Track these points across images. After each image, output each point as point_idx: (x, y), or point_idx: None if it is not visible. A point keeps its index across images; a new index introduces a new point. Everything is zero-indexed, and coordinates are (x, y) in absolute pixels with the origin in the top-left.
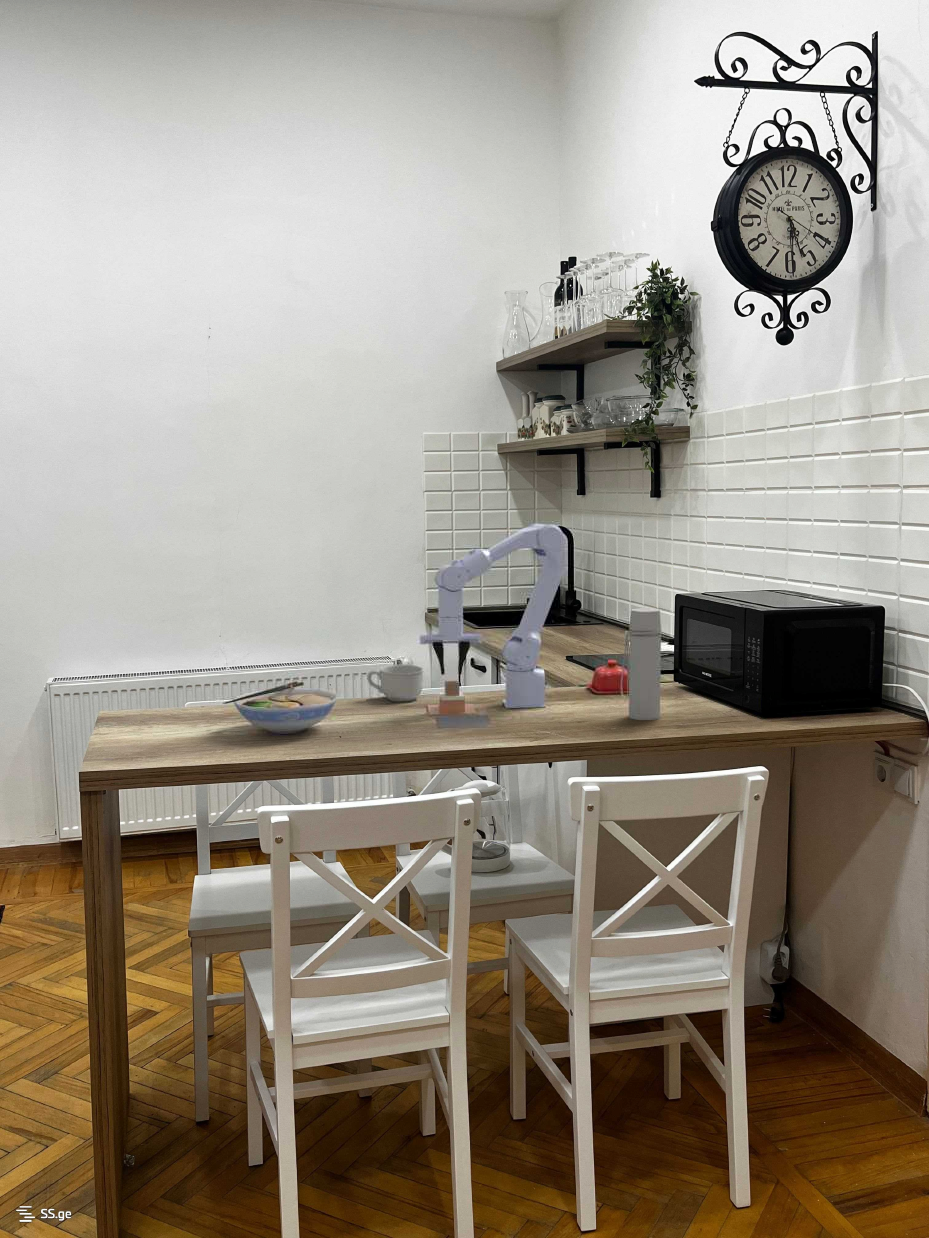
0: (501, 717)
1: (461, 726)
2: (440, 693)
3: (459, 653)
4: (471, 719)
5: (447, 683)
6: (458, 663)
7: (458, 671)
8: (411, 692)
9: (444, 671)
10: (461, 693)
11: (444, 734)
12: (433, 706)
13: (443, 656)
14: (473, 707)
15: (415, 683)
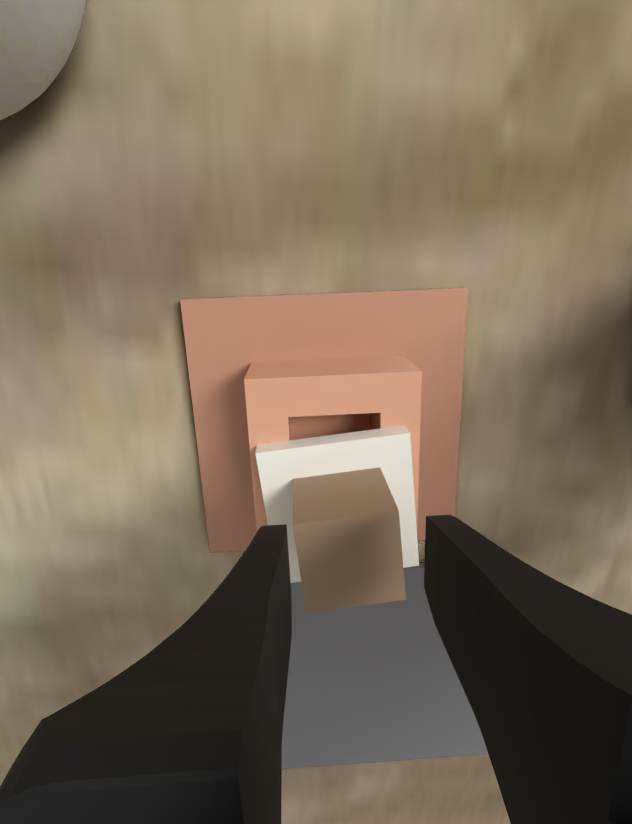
0: (561, 573)
1: (360, 754)
2: (262, 471)
3: (521, 806)
4: (414, 645)
5: (314, 610)
6: (462, 565)
7: (430, 570)
8: (17, 105)
9: (291, 623)
10: (407, 478)
11: (290, 820)
12: (222, 351)
13: (279, 819)
14: (457, 396)
15: (7, 58)
